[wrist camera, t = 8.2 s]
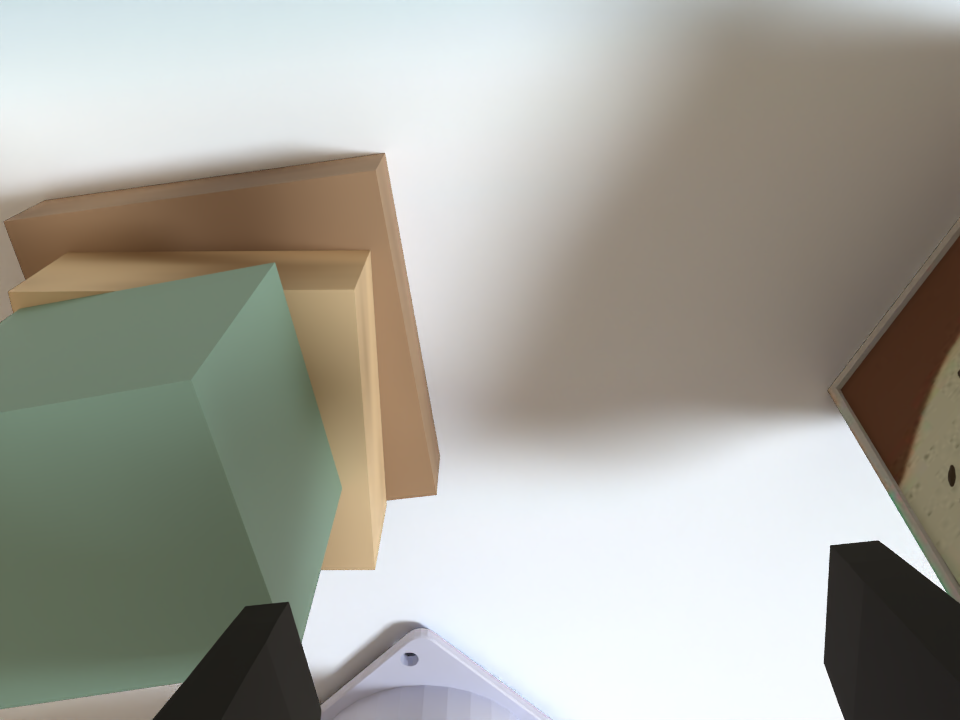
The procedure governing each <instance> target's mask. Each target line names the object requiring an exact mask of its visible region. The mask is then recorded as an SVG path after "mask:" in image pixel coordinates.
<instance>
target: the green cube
mask: <svg viewBox="0 0 960 720" xmlns="http://www.w3.org/2000/svg"><path fill="white" fill-rule="evenodd" d="M341 491H342V486H341V482H340V479H339V475H338V472H337V469H336V465H335V462H334V459H333V455H332V452H331V449H330V445H329V442H328V439H327V435H326V432H325V429H324V425H323V422H322V419H321V415H320V412H319V409H318V405H317V402H316V398H315V395H314V392H313V388H312V385H311V382H310V378H309V375H308V372H307V368H306V365H305V362H304V358H303V355H302V352H301V348H300V345H299V342H298V338H297V335H296V332H295V328H294V325H293V321H292V318H291V315H290V311H289V308H288V305H287V301H286V298H285V295H284V291H283V287H282V284H281V281H280V277H279V274H278V271H277V267H276V264H275V262H274V263H268V264H263V265H257V266H252V267H246V268H241V269H235V270H230V271H224V272H219V273H213V274H208V275H202V276H197V277H191V278H186V279H180V280H175V281H169V282H164V283H158V284H153V285H147V286H142V287H136V288H131V289H125V290H120V291H114V292H109V293H103V294H98V295H92V296H87V297H81V298H76V299H70V300H65V301H59V302H54V303H48V304H43V305H37V306H32V307H26V308H21V309H18V310H17V311H16V312H14V313H13V314H12V315H10V316H9V317H7V318H6V319H5V320H3V321H2V322H0V709H5V708H12V707H19V706H26V705H33V704H40V703H46V702H53V701H60V700H67V699H74V698H81V697H88V696H94V695H101V694H108V693H115V692H122V691H129V690H135V689H142V688H149V687H156V686H163V685H170V684H177V683H183V682H184V681H185V680H186V679H187V677H188V676H189V675H190V674H191V672H192V671H193V670H194V669H195V667H196V666H197V665H198V664H199V662H200V661H201V660H202V659H203V657H204V656H205V655H206V654H207V652H208V651H209V650H210V649H211V647H212V646H213V645H214V644H215V642H216V641H217V640H218V639H219V637H220V636H221V635H222V634H223V633H224V631H225V630H226V629H227V628H228V626H229V625H230V624H231V623H232V622H233V620H234V619H235V618H236V617H237V616H238V614H239V613H240V612H241V611H242V610H243V608H244V607H245V606H251V605H261V604H271V603H280V602H289V604H290V607H291V610H292V614H293V617H294V620H295V624H296V627H297V630H298V634H299V637H300V640H301V643H302V639H303V635H304V631H305V628H306V624H307V620H308V616H309V612H310V609H311V605H312V601H313V597H314V593H315V590H316V586H317V582H318V578H319V574H320V571H321V567H322V563H323V559H324V556H325V552H326V548H327V544H328V540H329V537H330V533H331V529H332V525H333V521H334V518H335V514H336V510H337V506H338V502H339V499H340V495H341Z"/></svg>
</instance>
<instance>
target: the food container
mask: <svg viewBox="0 0 960 720" xmlns="http://www.w3.org/2000/svg"><path fill="white" fill-rule="evenodd" d="M828 392H829V394H830V396H831V397H832V399H833V401H834V402H835V404H836V406H837V407H838V409H839V411H840V413H841V414H842V416H843V418H844V419H845V421H846V423H847V424H848V426H849V428H850V430H851V431H852V433H853V435H854V436H855V438H856V440H857V441H858V443H859V445H860V446H861V448H862V450H863V452H864V453H865V455H866V457H867V458H868V460H869V462H870V463H871V465H872V467H873V469H874V470H875V472H876V474H877V475H878V477H879V479H880V480H881V482H882V484H883V485H884V487H885V489H886V491H887V492H888V494H889V496H890V497H891V499H892V501H893V502H894V504H895V506H896V508H897V509H898V511H899V513H900V514H901V516H902V518H903V519H904V521H905V523H906V525H907V526H908V528H909V530H910V531H911V533H912V535H913V536H914V538H915V540H916V541H917V543H918V545H919V547H920V548H921V550H922V552H923V553H924V555H925V557H926V558H927V560H928V562H929V564H930V565H931V567H932V569H933V570H934V572H935V574H936V575H937V577H938V579H939V580H940V582H941V584H942V586H943V587H944V589H945V591H946V592H947V594H948V595H950V596H951V597H952V598H954V599H955V600H956V601H957V602H959V603H960V218H959V219H958V220H957V222H956V223H955V224H954V226H953V227H952V228H951V230H950V231H949V232H948V233H947V235H946V236H945V237H944V239H943V240H942V241H941V243H940V244H939V245H938V247H937V248H936V249H935V250H934V252H933V253H932V254H931V256H930V257H929V258H928V260H927V261H926V262H925V264H924V265H923V266H922V267H921V269H920V270H919V271H918V273H917V274H916V275H915V277H914V278H913V279H912V281H911V282H910V283H909V284H908V286H907V287H906V288H905V290H904V291H903V292H902V294H901V295H900V296H899V298H898V299H897V300H896V301H895V303H894V304H893V305H892V307H891V308H890V309H889V311H888V312H887V313H886V314H885V316H884V317H883V318H882V320H881V321H880V322H879V324H878V325H877V326H876V328H875V329H874V330H873V331H872V333H871V334H870V335H869V337H868V338H867V339H866V341H865V342H864V343H863V345H862V346H861V347H860V348H859V350H858V351H857V352H856V354H855V355H854V356H853V358H852V359H851V360H850V362H849V363H848V364H847V365H846V367H845V368H844V369H843V371H842V372H841V373H840V375H839V376H838V377H837V379H836V380H835V381H834V382H833V384H832V385H831V386H830V388H829V389H828Z"/></svg>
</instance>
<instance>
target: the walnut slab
mask: <svg viewBox="0 0 960 720" xmlns="http://www.w3.org/2000/svg"><path fill="white" fill-rule="evenodd" d="M3 222H4V224H5V227H6V230H7V232H8V235H9V238H10V240H11V243H12V246H13V248H14V251H15V253H16V256H17V259H18V261H19V264H20V267H21V269H22V272H23V274H24V277H25V280H27V279H28V278H30V277H31V276H33V275H34V274H36V273H37V272H39V271H40V270H42V269H43V268H45V267H46V266H48V265H49V264H51V263H52V262H54V261H55V260H57V259H58V258H60V257H61V256H63V255H64V254H66V253H67V252H175V251H328V250H370V251H371V267H372V283H373V299H374V314H375V330H376V346H377V361H378V377H379V393H380V409H381V424H382V440H383V456H384V472H385V487H386V501H387V500H396V499H404V498H413V497H422V496H430V495H437V483H438V472H439V460H440V454H439V448H438V443H437V437H436V432H435V426H434V421H433V415H432V410H431V404H430V399H429V393H428V387H427V382H426V376H425V371H424V365H423V360H422V354H421V349H420V343H419V338H418V332H417V327H416V321H415V316H414V310H413V305H412V299H411V294H410V288H409V283H408V277H407V272H406V266H405V261H404V255H403V250H402V244H401V239H400V233H399V228H398V222H397V217H396V211H395V206H394V200H393V195H392V189H391V184H390V178H389V172H388V167H387V161H386V156H385V153H382V154H375V155H368V156H361V157H353V158H346V159H339V160H332V161H325V162H317V163H310V164H303V165H296V166H289V167H282V168H274V169H267V170H260V171H253V172H246V173H238V174H231V175H224V176H217V177H210V178H202V179H195V180H188V181H181V182H174V183H166V184H159V185H152V186H145V187H138V188H131V189H123V190H116V191H109V192H102V193H95V194H87V195H80V196H73V197H66V198H59V199H51V200H45V201H43V202H41V203H39V204H37V205H35V206H33V207H31V208H29V209H27V210H25V211H23V212H21V213H19V214H17V215H15V216H13V217H11V218H9V219H7V220H5V221H3Z"/></svg>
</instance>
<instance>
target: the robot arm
mask: <svg viewBox="0 0 960 720" xmlns="http://www.w3.org/2000/svg"><path fill="white" fill-rule="evenodd" d="M405 653H414V654H416V655H415V656H407V655H405ZM824 665H825V667H826V670H827V673H828V676H829V679H830V681H831V684H832V687H833V690H834V692H835V695H836V698H837V701H838V704H839V706H840V709H841V711H842V714H843V717H844V719H845V720H960V603H959V602H957V601H956V600H955V599H954V598H952V597H951V596H950V595H948V594H947V593H946V592H944V591H943V590H942V589H940V588H939V587H938V586H937V585H935V584H934V583H933V582H931V581H930V580H929V579H928V578H926V577H925V576H924V575H922V574H921V573H920V572H919V571H917V570H916V569H915V568H914V567H912V566H911V565H910V564H908V563H907V562H906V561H905V560H903V559H902V558H901V557H899V556H898V555H897V554H895V553H894V552H893V551H892V550H890V549H889V548H888V547H886V546H885V545H884V544H882V543H881V542H880V541H868V542H859V543H849V544H839V545H830V559H829V577H828V596H827V614H826V632H825V650H824ZM153 720H552V719H551V718H549V717H548V716H547V715H545V714H544V713H543V712H541V711H540V710H539V709H537V708H536V707H535V706H533V705H532V704H530V703H529V702H528V701H526V700H525V699H524V698H522V697H521V696H520V695H518V694H517V693H516V692H514V691H513V690H512V689H510V688H509V687H508V686H506V685H505V684H503V683H502V682H501V681H499V680H498V679H497V678H495V677H494V676H493V675H491V674H490V673H489V672H487V671H486V670H485V669H483V668H482V667H481V666H479V665H478V664H477V663H475V662H474V661H472V660H471V659H470V658H468V657H467V656H466V655H464V654H463V653H462V652H460V651H459V650H458V649H456V648H455V647H454V646H452V645H451V644H450V643H448V642H447V641H445V640H444V639H443V638H441V637H440V636H439V635H437V634H436V633H435V632H433V631H431V630H429V629H425V628H418V629H414V630H412V631H410V632H409V633H408V634H406V635H405V636H404V637H403V638H401V639H400V640H399V641H398V642H397V643H395V644H394V645H393V646H392V647H391V648H389V649H388V650H387V651H386V652H384V653H383V654H382V655H381V656H380V657H378V658H377V659H376V660H375V661H374V662H372V663H371V664H370V665H369V666H367V667H366V668H365V669H364V670H363V671H361V672H360V673H359V674H358V675H357V676H355V677H354V678H353V679H352V680H351V681H349V682H348V683H347V684H346V685H344V686H343V687H342V688H341V689H340V690H338V691H337V692H336V693H335V694H334V695H332V696H331V697H330V698H329V699H327V700H326V701H325V702H324V703H323V704H321V705H320V704H319V700H318V697H317V694H316V690H315V687H314V684H313V680H312V677H311V674H310V670H309V667H308V664H307V660H306V657H305V654H304V650H303V647H302V644H301V640H300V637H299V634H298V630H297V627H296V624H295V620H294V617H293V614H292V610H291V607H290V604H289V602H280V603H271V604H261V605H251V606H245V607H244V608H243V610H242V611H241V612H240V613H239V614H238V616H237V617H236V618H235V619H234V620H233V622H232V623H231V624H230V625H229V626H228V628H227V629H226V630H225V631H224V633H223V634H222V635H221V636H220V637H219V639H218V640H217V641H216V642H215V644H214V645H213V646H212V647H211V649H210V650H209V651H208V652H207V654H206V655H205V656H204V657H203V659H202V660H201V661H200V662H199V664H198V665H197V666H196V667H195V669H194V670H193V671H192V672H191V674H190V675H189V676H188V677H187V679H186V680H185V681H184V682H183V684H182V685H181V686H180V687H179V688H178V690H177V691H176V692H175V693H174V694H173V696H172V697H171V698H170V699H169V700H168V702H167V703H166V704H165V705H164V706H163V708H162V709H161V710H160V711H159V712H158V714H157V715H156V716H155V717H154V718H153Z"/></svg>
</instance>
